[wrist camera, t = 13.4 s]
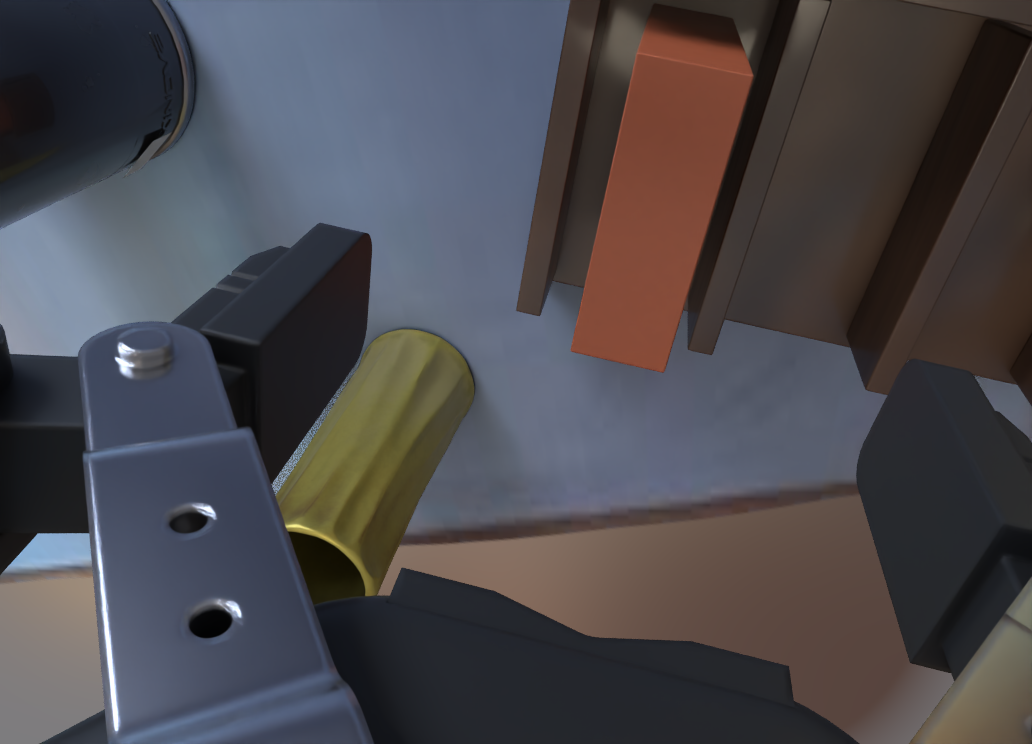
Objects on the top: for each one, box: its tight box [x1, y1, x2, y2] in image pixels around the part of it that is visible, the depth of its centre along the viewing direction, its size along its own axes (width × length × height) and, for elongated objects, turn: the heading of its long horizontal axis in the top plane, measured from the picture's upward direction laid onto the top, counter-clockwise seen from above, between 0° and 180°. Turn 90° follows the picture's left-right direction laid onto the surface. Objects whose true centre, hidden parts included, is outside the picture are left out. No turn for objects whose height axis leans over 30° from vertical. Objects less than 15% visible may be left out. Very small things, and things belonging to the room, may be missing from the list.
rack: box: [516, 0, 1032, 406], centre depth 28 cm, size 22×15×9 cm
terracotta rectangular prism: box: [571, 3, 754, 373], centre depth 27 cm, size 3×9×11 cm, turn 171°
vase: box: [276, 329, 474, 605], centre depth 35 cm, size 6×6×14 cm
